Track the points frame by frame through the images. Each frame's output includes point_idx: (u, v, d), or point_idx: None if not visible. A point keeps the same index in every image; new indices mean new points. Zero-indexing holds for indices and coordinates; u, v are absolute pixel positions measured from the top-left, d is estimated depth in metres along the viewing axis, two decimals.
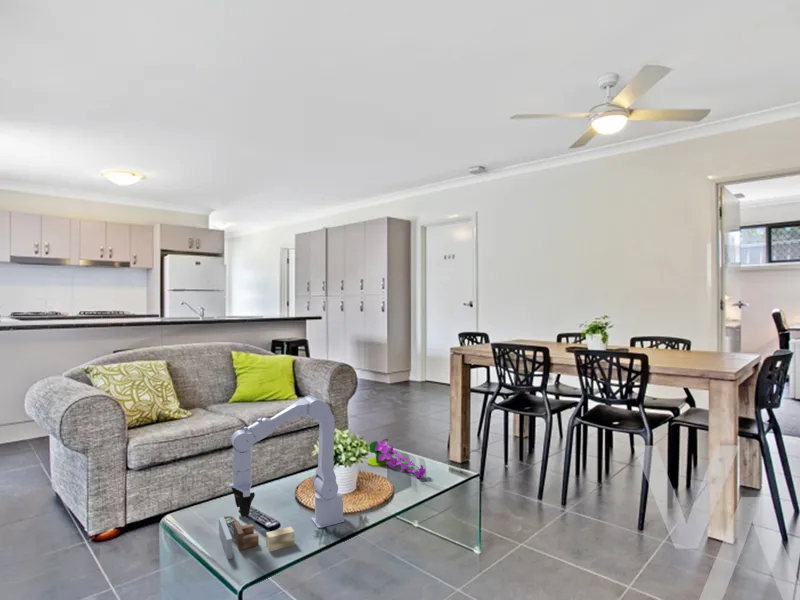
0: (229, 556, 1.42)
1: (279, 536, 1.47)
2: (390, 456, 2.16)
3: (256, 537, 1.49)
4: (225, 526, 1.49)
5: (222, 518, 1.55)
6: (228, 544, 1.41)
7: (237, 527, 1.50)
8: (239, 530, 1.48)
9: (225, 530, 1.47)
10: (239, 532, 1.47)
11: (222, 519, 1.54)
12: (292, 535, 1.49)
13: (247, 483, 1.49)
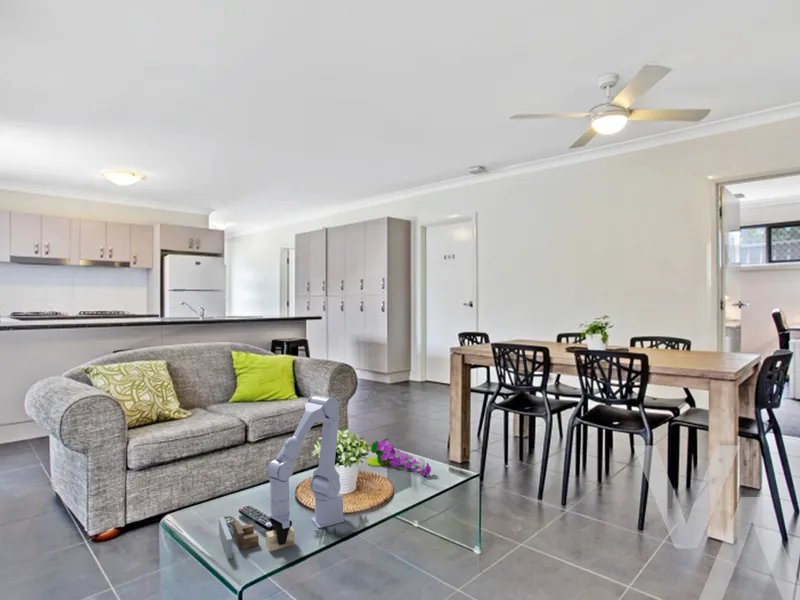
0: (229, 556, 1.42)
1: None
2: (393, 455, 2.17)
3: (256, 537, 1.49)
4: (225, 526, 1.49)
5: (222, 518, 1.55)
6: (228, 544, 1.41)
7: (237, 527, 1.50)
8: (239, 530, 1.48)
9: (225, 530, 1.47)
10: (239, 532, 1.47)
11: (222, 519, 1.54)
12: (292, 534, 1.49)
13: (286, 513, 1.47)
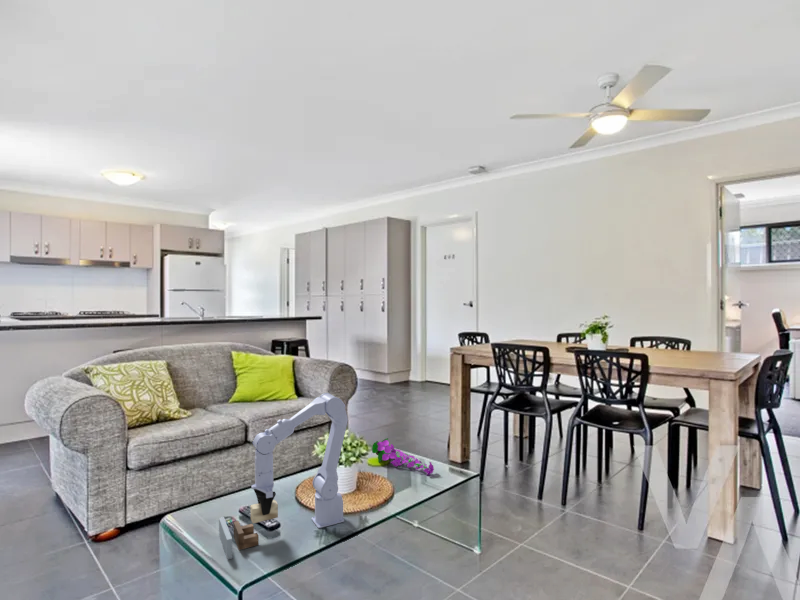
0: (229, 556, 1.42)
1: None
2: (394, 455, 2.17)
3: (256, 537, 1.49)
4: (225, 526, 1.49)
5: (222, 518, 1.55)
6: (228, 544, 1.41)
7: (237, 527, 1.50)
8: (239, 530, 1.48)
9: (225, 530, 1.47)
10: (239, 532, 1.47)
11: (222, 519, 1.54)
12: (275, 507, 1.54)
13: (269, 484, 1.53)
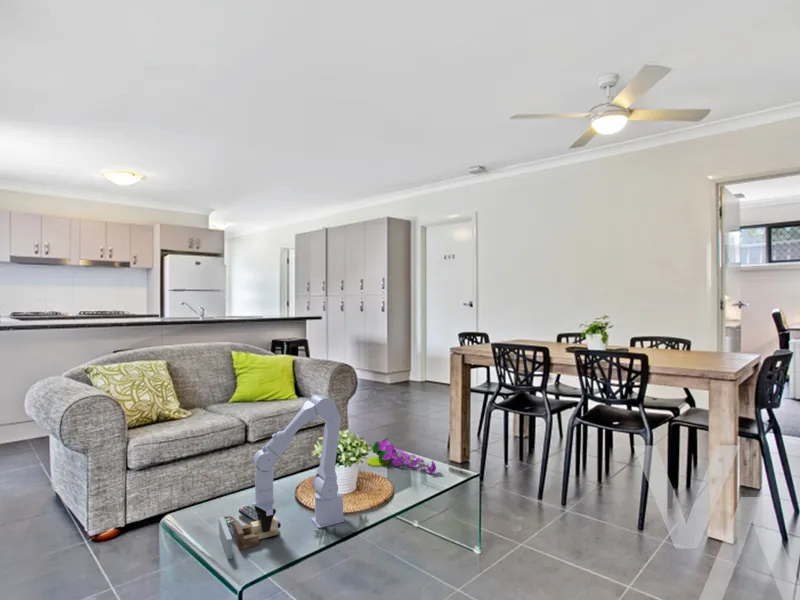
0: (229, 556, 1.42)
1: None
2: (396, 455, 2.17)
3: (256, 537, 1.49)
4: (225, 526, 1.49)
5: (222, 518, 1.55)
6: (228, 544, 1.41)
7: (237, 527, 1.50)
8: (239, 530, 1.48)
9: (225, 530, 1.47)
10: (239, 532, 1.47)
11: (222, 519, 1.54)
12: (276, 524, 1.54)
13: (270, 501, 1.53)
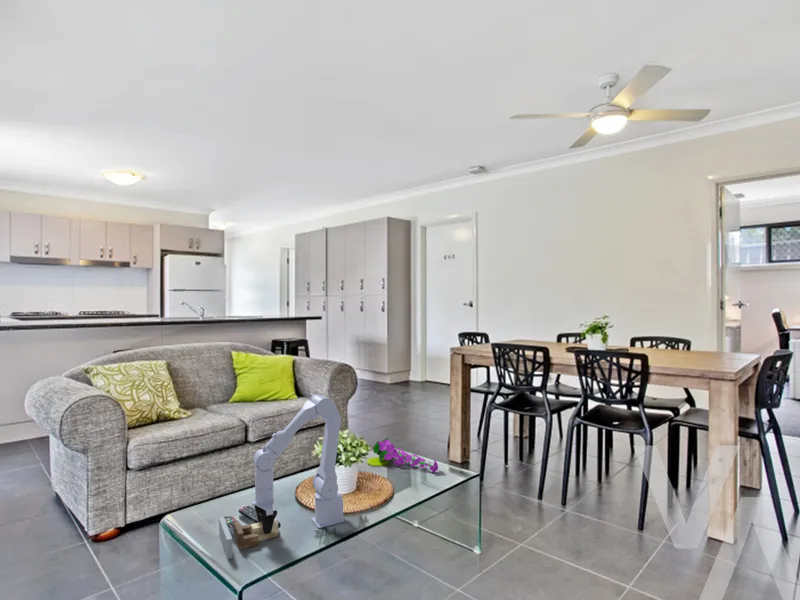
0: (229, 556, 1.42)
1: None
2: (397, 454, 2.18)
3: (256, 537, 1.49)
4: (225, 526, 1.49)
5: (222, 518, 1.55)
6: (228, 544, 1.41)
7: (237, 527, 1.50)
8: (239, 530, 1.48)
9: (225, 530, 1.47)
10: (239, 532, 1.47)
11: (222, 519, 1.54)
12: (276, 527, 1.55)
13: (270, 501, 1.53)
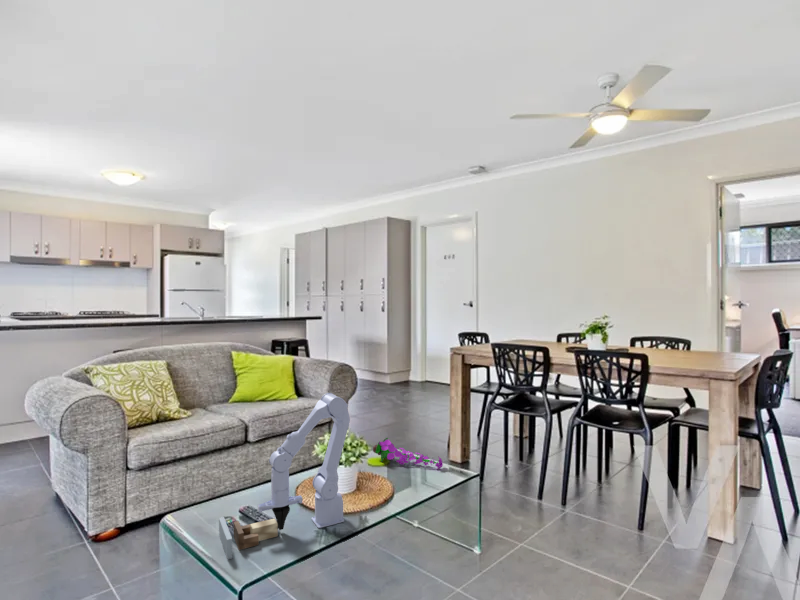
0: (229, 556, 1.42)
1: (262, 527, 1.52)
2: (400, 453, 2.19)
3: (256, 537, 1.49)
4: (225, 526, 1.49)
5: (222, 518, 1.55)
6: (228, 544, 1.41)
7: (237, 527, 1.50)
8: (239, 530, 1.48)
9: (225, 530, 1.47)
10: (239, 532, 1.47)
11: (222, 519, 1.54)
12: (275, 526, 1.54)
13: (273, 502, 1.55)
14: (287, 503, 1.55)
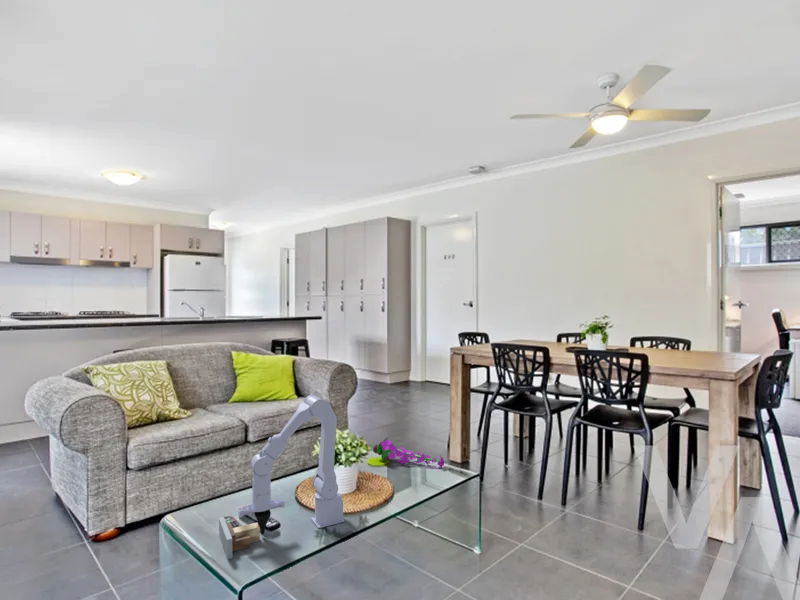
0: (229, 556, 1.42)
1: (244, 532, 1.50)
2: (401, 453, 2.20)
3: (248, 539, 1.48)
4: (225, 526, 1.49)
5: (222, 518, 1.55)
6: (228, 544, 1.41)
7: (229, 529, 1.49)
8: (231, 532, 1.47)
9: (225, 530, 1.47)
10: (231, 534, 1.46)
11: (222, 519, 1.54)
12: (257, 531, 1.52)
13: (254, 507, 1.52)
14: (268, 507, 1.52)
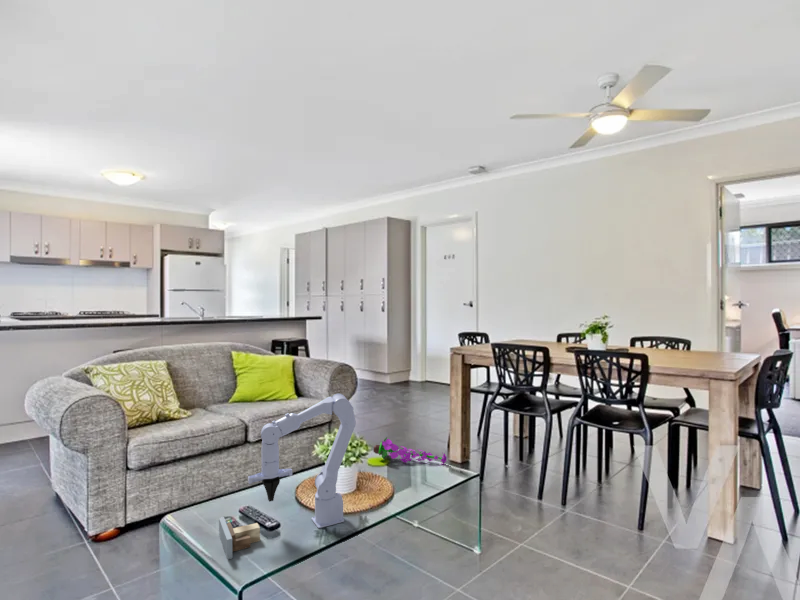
0: (229, 556, 1.42)
1: (244, 532, 1.50)
2: (403, 452, 2.22)
3: (248, 539, 1.48)
4: (225, 526, 1.49)
5: (222, 518, 1.55)
6: (228, 544, 1.41)
7: (229, 529, 1.49)
8: (231, 532, 1.47)
9: (225, 530, 1.47)
10: (231, 534, 1.46)
11: (222, 519, 1.54)
12: (258, 531, 1.52)
13: (263, 474, 1.57)
14: (277, 475, 1.58)
